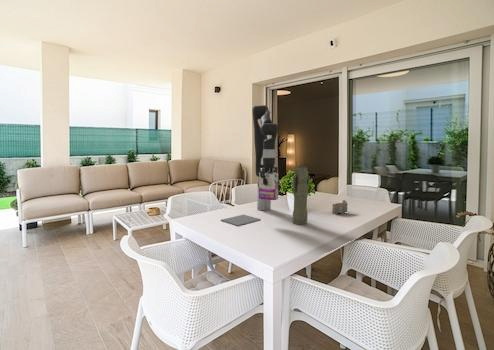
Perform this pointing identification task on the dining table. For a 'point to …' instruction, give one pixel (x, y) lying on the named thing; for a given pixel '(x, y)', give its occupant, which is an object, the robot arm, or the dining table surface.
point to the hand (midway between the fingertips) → (268, 184)
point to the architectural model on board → (340, 207)
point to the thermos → (300, 195)
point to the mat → (240, 220)
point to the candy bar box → (269, 187)
